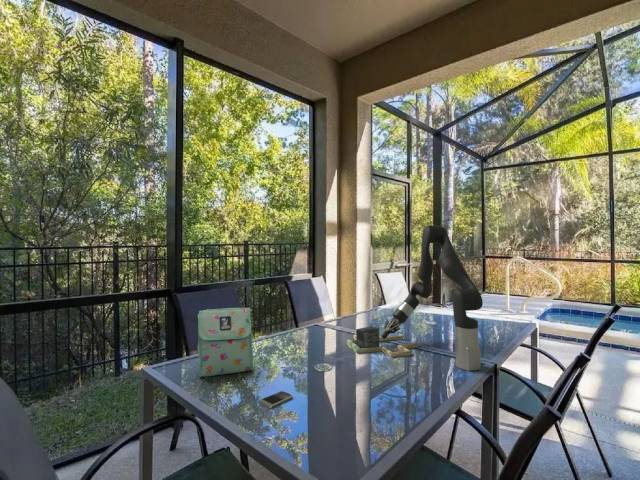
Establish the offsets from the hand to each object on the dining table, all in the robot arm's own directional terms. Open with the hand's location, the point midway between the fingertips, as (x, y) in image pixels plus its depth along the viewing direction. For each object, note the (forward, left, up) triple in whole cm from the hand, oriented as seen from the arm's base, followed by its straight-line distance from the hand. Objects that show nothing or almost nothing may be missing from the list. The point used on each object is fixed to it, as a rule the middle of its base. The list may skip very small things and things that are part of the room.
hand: (382, 337), depth 181 cm
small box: (-2, +9, -4) cm, 11 cm away
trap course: (0, +1, -4) cm, 4 cm away
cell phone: (-48, +62, -5) cm, 79 cm away
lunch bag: (-12, +79, -4) cm, 80 cm away
